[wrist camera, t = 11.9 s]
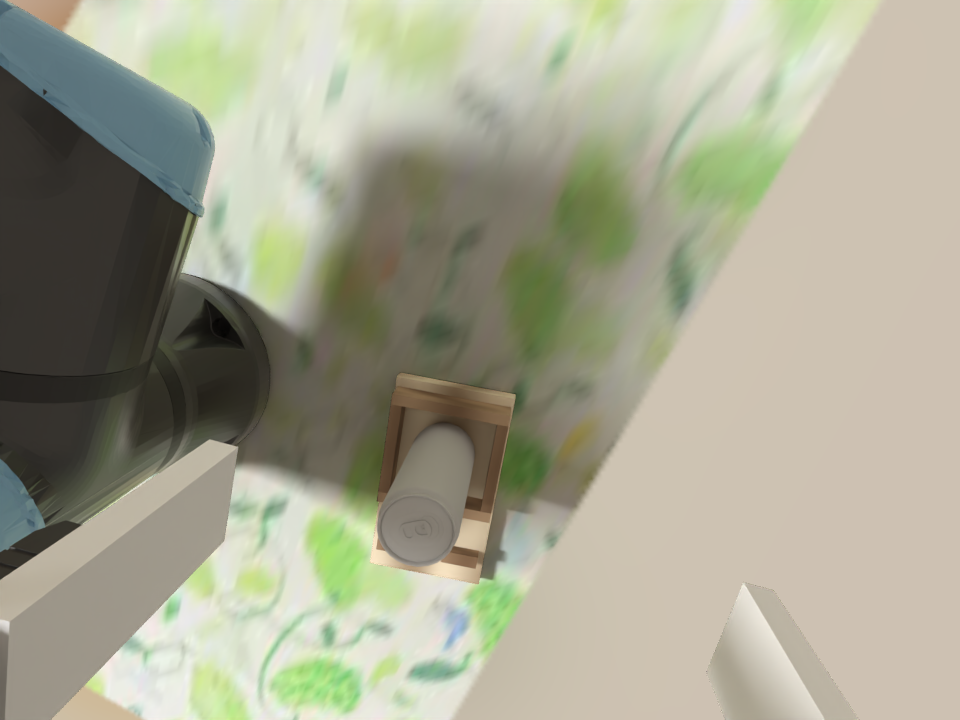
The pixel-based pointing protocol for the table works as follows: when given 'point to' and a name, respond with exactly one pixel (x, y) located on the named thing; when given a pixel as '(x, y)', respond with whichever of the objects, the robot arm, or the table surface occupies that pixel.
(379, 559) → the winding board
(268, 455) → the table surface
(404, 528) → the beverage can
